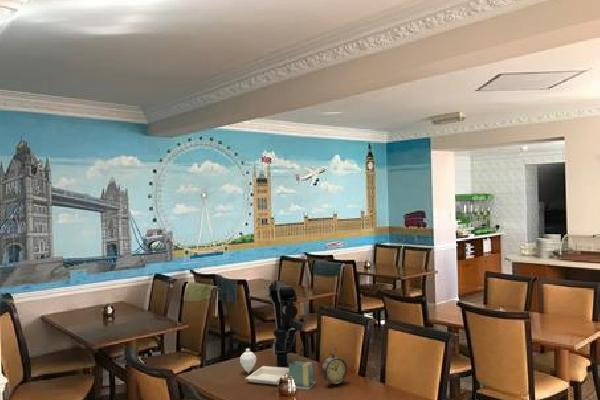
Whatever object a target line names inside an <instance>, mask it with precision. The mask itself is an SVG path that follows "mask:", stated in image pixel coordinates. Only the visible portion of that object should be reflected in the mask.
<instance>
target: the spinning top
mask: <svg viewBox="0 0 600 400" xmlns="http://www.w3.org/2000/svg"><path fill="white" fill-rule="evenodd" d="M239 361H240V365H241V366H242V367H243V369H244V370H245V371H246V372H247V374H250V373H251V371H252V370H253V368H254V367H255V365H256V362H257V356H256V354H255V353H254V352H252V351H251V349H250V348H245V352H243V353H242V354H241V356H240V357H239Z"/></svg>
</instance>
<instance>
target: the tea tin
mask: <svg viewBox="0 0 600 400" xmlns="http://www.w3.org/2000/svg"><path fill="white" fill-rule="evenodd" d="M289 363H290V364H289V365H288V368H289V376H292V377H293V379H294V382H295V384H296V386H303V387H310V386H311V385H312V384H313V381H314V377H313V376H314V375H313V373H314V372H313V362H312V361H299V360H298V361H295V360H292V361H291V362H289Z"/></svg>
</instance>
